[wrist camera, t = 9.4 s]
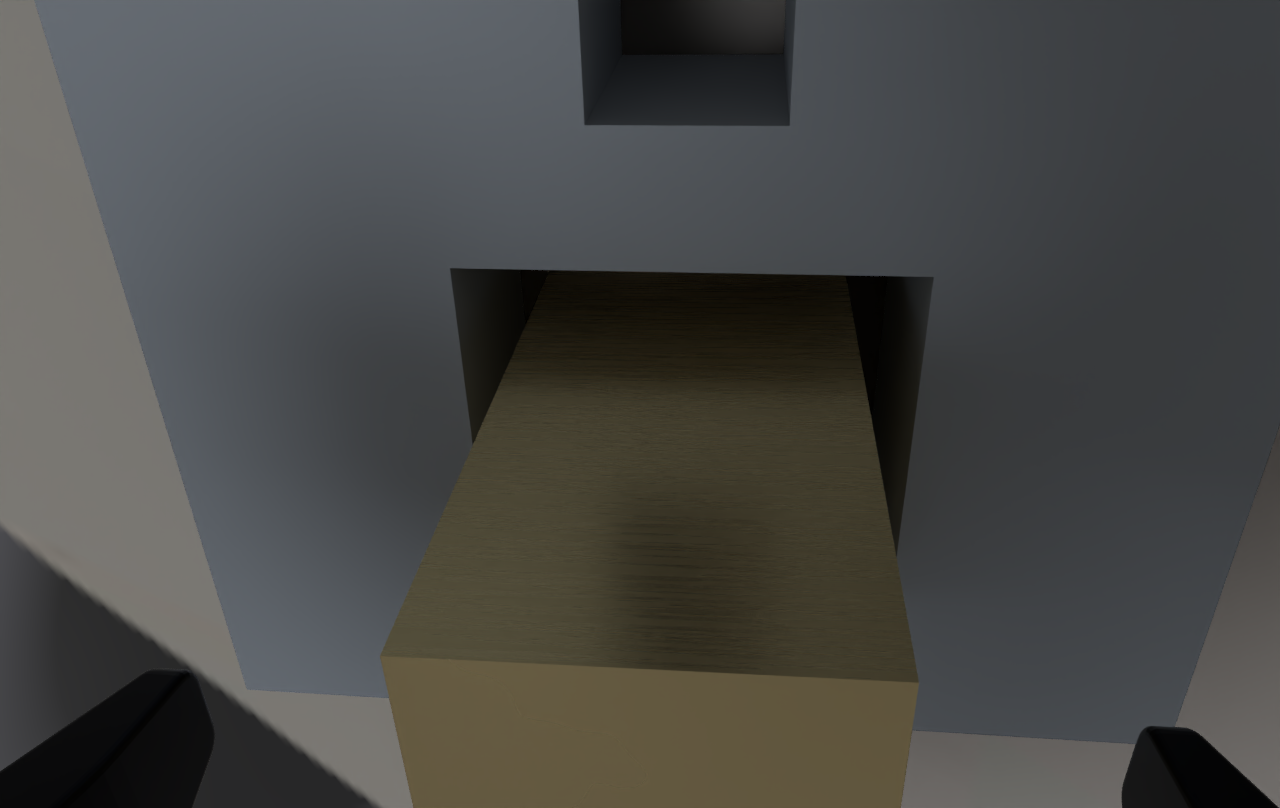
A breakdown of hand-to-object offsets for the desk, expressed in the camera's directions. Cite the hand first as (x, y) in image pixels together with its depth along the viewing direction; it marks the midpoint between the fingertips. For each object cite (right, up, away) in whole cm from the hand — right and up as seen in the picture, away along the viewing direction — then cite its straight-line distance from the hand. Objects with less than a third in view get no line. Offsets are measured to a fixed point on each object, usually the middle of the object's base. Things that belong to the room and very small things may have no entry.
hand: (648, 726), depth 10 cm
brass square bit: (+1, +4, +6) cm, 8 cm away
